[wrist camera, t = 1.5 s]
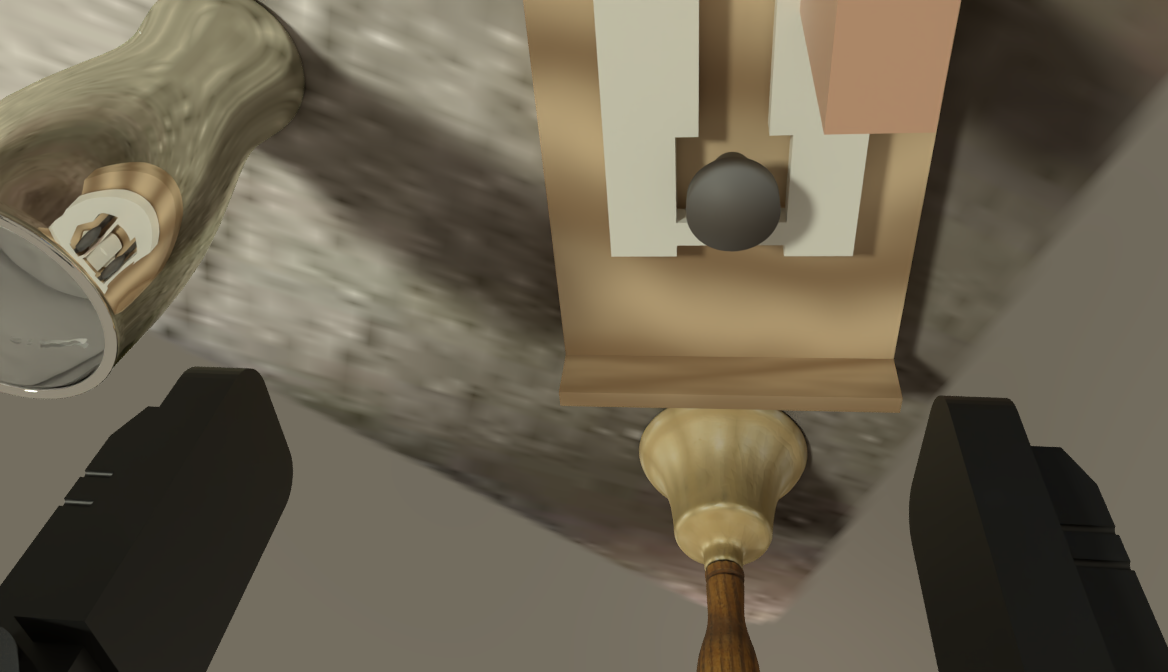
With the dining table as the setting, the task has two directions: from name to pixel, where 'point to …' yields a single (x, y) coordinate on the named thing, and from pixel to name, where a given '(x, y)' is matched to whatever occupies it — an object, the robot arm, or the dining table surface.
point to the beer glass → (128, 183)
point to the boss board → (708, 288)
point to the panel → (796, 107)
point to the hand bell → (723, 505)
